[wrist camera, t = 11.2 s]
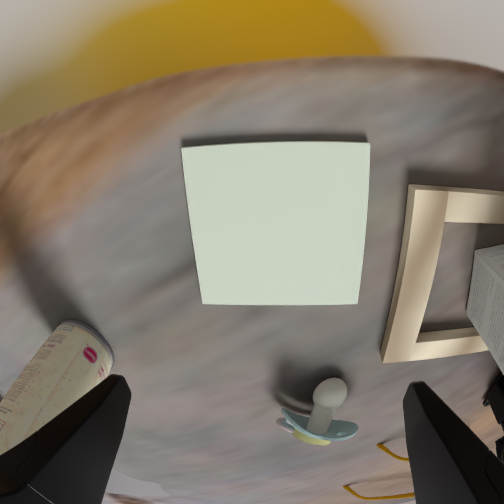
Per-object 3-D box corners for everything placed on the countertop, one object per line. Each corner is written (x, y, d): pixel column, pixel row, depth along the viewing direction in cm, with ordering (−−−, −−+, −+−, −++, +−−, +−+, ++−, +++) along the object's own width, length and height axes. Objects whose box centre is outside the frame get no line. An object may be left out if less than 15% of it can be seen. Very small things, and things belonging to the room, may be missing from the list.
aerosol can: (91, 376, 30) (14, 525, 12) (47, 332, 28) (-52, 476, 10) (127, 361, 28) (42, 544, 10) (77, 309, 26) (-44, 486, 8)
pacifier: (265, 419, 28) (279, 442, 22) (286, 360, 29) (305, 371, 24) (331, 432, 29) (356, 453, 23) (351, 377, 30) (380, 388, 24)
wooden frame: (571, 200, 16) (579, 205, 15) (528, 333, 22) (533, 340, 21) (408, 184, 18) (415, 189, 17) (379, 353, 24) (382, 363, 23)
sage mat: (368, 142, 17) (370, 143, 17) (356, 300, 22) (357, 304, 22) (183, 146, 19) (181, 148, 18) (204, 299, 23) (202, 303, 23)
